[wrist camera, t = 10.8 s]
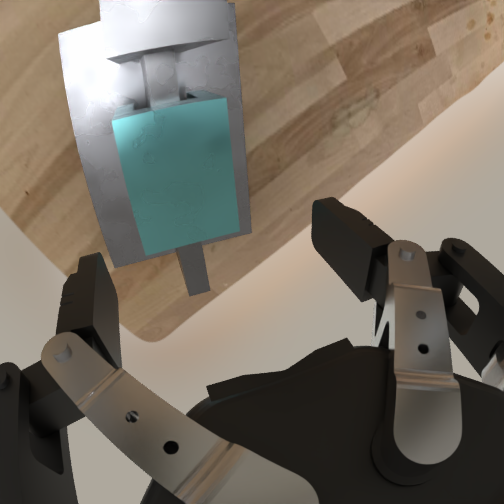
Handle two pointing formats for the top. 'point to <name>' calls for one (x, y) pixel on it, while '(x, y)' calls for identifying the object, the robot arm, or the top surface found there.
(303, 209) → the top surface
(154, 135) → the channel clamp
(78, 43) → the stand
